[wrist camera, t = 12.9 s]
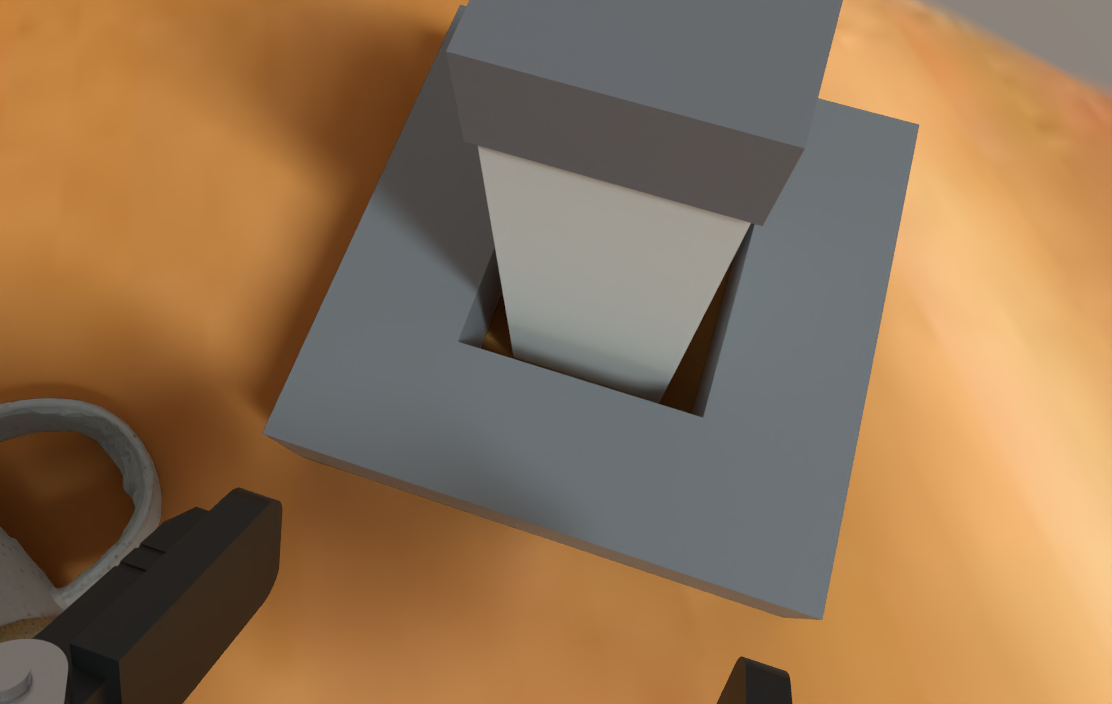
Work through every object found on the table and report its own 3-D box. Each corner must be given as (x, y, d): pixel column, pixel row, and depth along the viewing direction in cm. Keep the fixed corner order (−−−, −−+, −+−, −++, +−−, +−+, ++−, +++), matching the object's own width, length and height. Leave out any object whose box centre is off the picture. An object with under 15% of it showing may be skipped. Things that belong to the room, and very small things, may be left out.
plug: (507, 360, 22) (446, 51, 10) (557, 224, 24) (559, -194, 11) (662, 409, 22) (804, 147, 9) (703, 267, 23) (873, -122, 11)
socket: (302, 456, 21) (249, 425, 17) (470, 71, 25) (456, -16, 22) (783, 617, 20) (834, 620, 16) (876, 181, 24) (932, 106, 20)
